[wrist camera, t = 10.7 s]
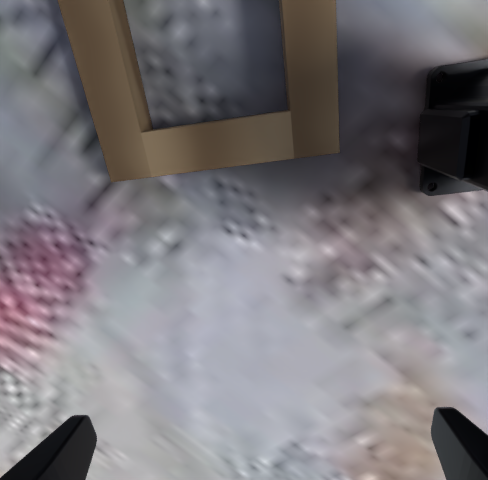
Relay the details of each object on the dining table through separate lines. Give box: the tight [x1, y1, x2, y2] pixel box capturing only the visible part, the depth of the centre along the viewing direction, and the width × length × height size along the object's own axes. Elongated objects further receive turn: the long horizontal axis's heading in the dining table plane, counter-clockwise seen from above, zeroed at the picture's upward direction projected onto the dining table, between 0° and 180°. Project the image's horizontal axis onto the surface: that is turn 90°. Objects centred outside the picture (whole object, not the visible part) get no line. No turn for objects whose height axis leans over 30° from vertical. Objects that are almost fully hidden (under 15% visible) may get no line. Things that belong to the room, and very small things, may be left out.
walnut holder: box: [58, 0, 340, 182], centre depth 16 cm, size 12×12×2 cm
